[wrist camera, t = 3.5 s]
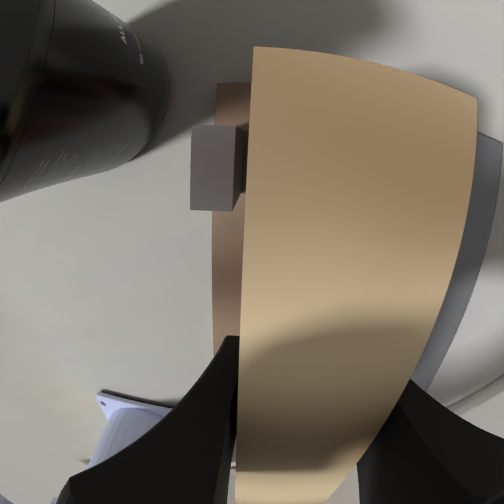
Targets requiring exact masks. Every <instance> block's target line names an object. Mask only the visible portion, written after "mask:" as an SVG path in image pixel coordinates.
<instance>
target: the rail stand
mask: <svg viewBox="0 0 504 504" xmlns="http://www.w3.org/2000/svg"><path fill="white" fill-rule="evenodd" d="M251 84H252V83H217V96H216V114H215V125H202V126H192V136H191V178H190V210H205V211H212V305H213V344H214V356H215V355H216V353H217V351H218V350H219V348H220V346H221V344H222V342H223V340H224V338H225V337H226V336H227V335H233V336H240V318H241V292H242V268H243V244H244V221H245V200H246V179H247V159H248V139H249V120H250V102H251Z"/></svg>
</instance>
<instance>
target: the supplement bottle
mask: <svg viewBox="0 0 504 504" xmlns="http://www.w3.org/2000/svg"><path fill="white" fill-rule="evenodd" d="M168 91H169V81H168V73H167V69H166V65H165V62H164V60H163V58H162V56H161V54H160V53H159V51H158V50H157V49H156V48H155V46H154V45H153V44H152V43H150V42H149V41H148V40H147V39H146V38H145V37H143V36H142V35H141V34H140V33H138V32H137V31H136V30H134V29H133V28H132V27H130V26H129V25H127V24H126V23H125V22H123V21H122V20H120V19H119V18H118V17H116V16H115V15H113V14H112V13H110V12H109V11H107V10H106V9H104V8H103V7H101V6H100V5H98V4H97V3H95V2H94V1H92V0H0V202H3V201H6V200H8V199H11V198H14V197H17V196H20V195H23V194H26V193H29V192H32V191H36V190H39V189H42V188H45V187H49V186H52V185H56V184H59V183H63V182H66V181H70V180H74V179H78V178H81V177H85V176H89V175H93V174H97V173H101V172H104V171H108V170H111V169H114V168H116V167H119V166H121V165H122V164H124V163H126V162H127V161H129V160H130V159H132V158H133V157H134V156H136V155H137V154H138V153H139V152H140V151H141V150H142V149H143V148H144V147H145V146H146V144H147V143H148V142H149V141H150V139H151V138H152V136H153V135H154V133H155V132H156V130H157V128H158V126H159V124H160V122H161V120H162V117H163V115H164V112H165V108H166V105H167V100H168Z"/></svg>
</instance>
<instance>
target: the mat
mask: <svg viewBox="0 0 504 504" xmlns="http://www.w3.org/2000/svg"><path fill="white" fill-rule="evenodd" d="M502 153H503V144H502V143H500V142H497V141H495V140H493V139H491V138H488V137H486V136H484V135H481V134H479V133H477V138H476V152H475V163H474V172H473V180H472V187H471V194H470V200H469V206H468V211H467V216H466V221H465V226H464V231H463V235H462V239H461V243H460V247H459V251H458V255H457V259H456V262H455V266H454V269H453V273H452V276H451V279H450V282H449V286H448V289H447V292H446V295H445V297H444V300H443V303H442V306H441V309H440V311H439V314H438V317H437V319H436V322H435V324H434V327H433V329H432V332H431V334H430V336H429V339H428V341H427V343H426V346H425V348H424V350H423V352H422V354H421V357H420V359H419V361H418V363H417V365H416V367H415V369H414V371H413V373H412V375H411V377H410V379H411V380H413V381H414V382H415V383H416V384H417V385H418V386H419V387H420V388H422V389H423V390H424V391H425V392H426V390H427V388H428V387H429V385H430V383H431V381H432V380H433V378H434V376H435V374H436V372H437V371H438V369H439V367H440V365H441V363H442V361H443V359H444V357H445V355H446V353H447V351H448V349H449V347H450V345H451V343H452V341H453V339H454V336H455V334H456V332H457V330H458V327H459V325H460V323H461V320H462V318H463V316H464V313H465V311H466V308H467V305H468V303H469V300H470V298H471V295H472V292H473V289H474V286H475V283H476V280H477V277H478V274H479V271H480V268H481V265H482V261H483V258H484V254H485V251H486V247H487V243H488V239H489V235H490V231H491V226H492V222H493V217H494V212H495V207H496V201H497V195H498V189H499V182H500V174H501V165H502Z"/></svg>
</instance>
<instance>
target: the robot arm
mask: <svg viewBox="0 0 504 504" xmlns="http://www.w3.org/2000/svg"><path fill="white" fill-rule="evenodd" d="M239 346H240V336H233V335H227V336H226V337H225V338H224V340H223V342H222V344H221V346H220V348H219V350H218V351H217V353H216V355H215V356H214V358H213V359H212V361H211V363H210V364H209V365H208V367H207V368H206V370H205V371H204V372H203V374H202V375H201V377H200V378H199V379H198V381H197V382H196V383H195V384H194V385H193V387H192V388H191V389H190V390H189V391H188V393H187V394H186V395H185V396H184V397H183V398H182V400H181V401H180V402H179V403H178V404H177V405H176V406H175V407H174V408H173V409H172V408H166V407H161V406H156V405H151V404H146V403H141V402H137V401H133V400H128V399H124V398H120V397H117V396H113V395H109V394H105V393H102V392H98V393H97V395H96V399H97V401H98V403H99V405H100V407H101V409H102V411H103V413H104V415H105V417H106V419H107V421H108V423H107V425H106V427H105V429H104V431H103V433H102V435H101V438H100V440H99V442H98V444H97V447H96V449H95V451H94V453H93V455H92V458H91V460H90V462H89V465H88V467H87V469H86V470H85V471H83V472H80V473H78V474H76V475H74V476H72V477H70V478H69V480H68V482H67V483H66V485H65V486H64V488H63V489H62V491H61V493H60V495H59V497H54V498H53V500H52V502H51V504H227V495H228V484H229V474H230V466H231V460H232V455H233V450H234V445H235V440H236V435H237V407H238V375H239ZM357 471H358V482H359V497H360V504H504V439H503V438H501V437H498V436H496V435H494V434H491V433H489V432H486V431H484V430H482V429H480V428H478V427H476V426H475V425H473V424H471V423H469V422H468V421H466V420H464V419H462V418H461V417H459V416H458V415H456V414H454V413H453V412H451V411H450V410H449V409H447V408H446V407H444V406H443V405H442V404H440V403H439V402H437V401H436V400H435V399H434V398H432V397H431V396H430V395H429V394H427V393H426V392H425V391H424V390H423V389H422V388H420V387H419V386H418V385H417V384H416V383H415V382H414V381H413V380H411V379H409V381H408V383H407V385H406V387H405V389H404V390H403V392H402V394H401V396H400V398H399V399H398V401H397V403H396V405H395V406H394V408H393V410H392V411H391V413H390V415H389V416H388V418H387V420H386V421H385V423H384V424H383V426H382V428H381V429H380V431H379V432H378V434H377V435H376V437H375V438H374V440H373V441H372V443H371V444H370V446H369V447H368V448H367V450H366V451H365V453H364V454H363V455H362V457H361V458H360V460H359V461H358V462H357ZM0 504H13V503H12V502H10V501H9V500H7V499H6V498H5V497H3V496H2V495H1V494H0Z"/></svg>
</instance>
